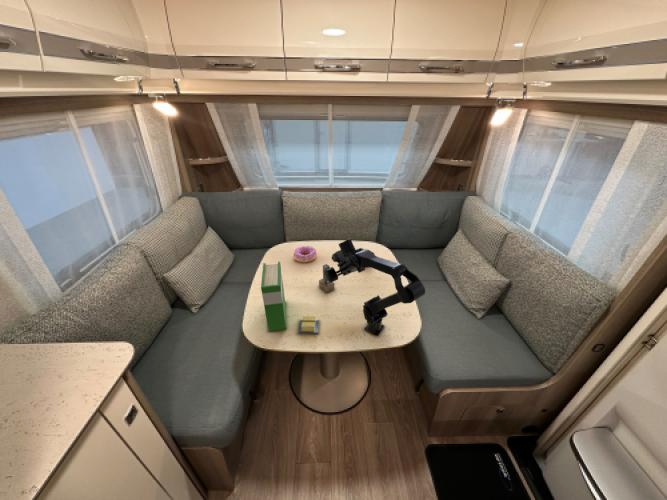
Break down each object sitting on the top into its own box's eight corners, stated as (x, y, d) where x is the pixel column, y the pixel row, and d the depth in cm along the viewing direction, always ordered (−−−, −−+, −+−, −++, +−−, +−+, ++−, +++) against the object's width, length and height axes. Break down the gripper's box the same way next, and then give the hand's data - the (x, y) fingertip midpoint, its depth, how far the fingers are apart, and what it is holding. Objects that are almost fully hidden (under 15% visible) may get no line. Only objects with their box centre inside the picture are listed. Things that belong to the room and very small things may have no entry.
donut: (292, 253, 172) (291, 246, 169) (313, 250, 176) (313, 243, 173) (296, 265, 160) (295, 258, 158) (319, 261, 164) (319, 254, 161)
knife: (330, 288, 141) (330, 266, 134) (326, 290, 140) (326, 268, 133) (326, 285, 143) (326, 263, 136) (323, 287, 142) (322, 265, 135)
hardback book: (270, 304, 131) (263, 263, 119) (285, 302, 132) (280, 261, 120) (268, 331, 116) (260, 287, 104) (285, 329, 117) (280, 285, 105)
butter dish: (319, 321, 120) (318, 315, 119) (317, 333, 114) (317, 327, 112) (300, 321, 121) (300, 315, 119) (298, 333, 114) (297, 327, 113)
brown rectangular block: (334, 289, 140) (334, 283, 138) (326, 292, 138) (326, 286, 136) (326, 282, 145) (326, 276, 143) (319, 286, 143) (318, 280, 141)
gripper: (359, 242, 122) (343, 253, 135) (326, 255, 112) (313, 265, 125) (370, 264, 120) (353, 272, 134) (337, 279, 111) (323, 287, 124)
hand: (336, 273), depth 129 cm, fingers open, 9 cm apart
